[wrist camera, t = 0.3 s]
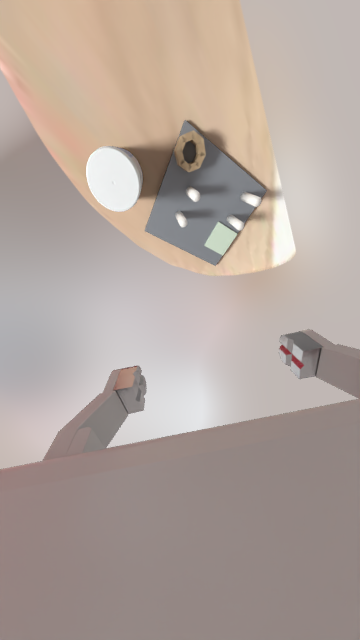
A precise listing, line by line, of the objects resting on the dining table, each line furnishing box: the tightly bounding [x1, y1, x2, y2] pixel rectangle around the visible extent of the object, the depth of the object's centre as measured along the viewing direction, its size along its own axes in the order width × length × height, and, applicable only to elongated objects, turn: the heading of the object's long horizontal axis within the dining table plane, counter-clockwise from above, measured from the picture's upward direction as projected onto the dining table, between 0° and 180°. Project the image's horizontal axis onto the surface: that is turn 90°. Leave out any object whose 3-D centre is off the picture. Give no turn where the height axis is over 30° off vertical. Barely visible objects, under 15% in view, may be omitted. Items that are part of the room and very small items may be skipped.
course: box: [145, 120, 267, 266], centre depth 46 cm, size 24×26×9 cm
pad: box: [205, 222, 237, 255], centre depth 54 cm, size 8×8×1 cm
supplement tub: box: [86, 146, 143, 212], centre depth 36 cm, size 10×10×15 cm
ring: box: [174, 130, 206, 172], centre depth 38 cm, size 6×6×4 cm
